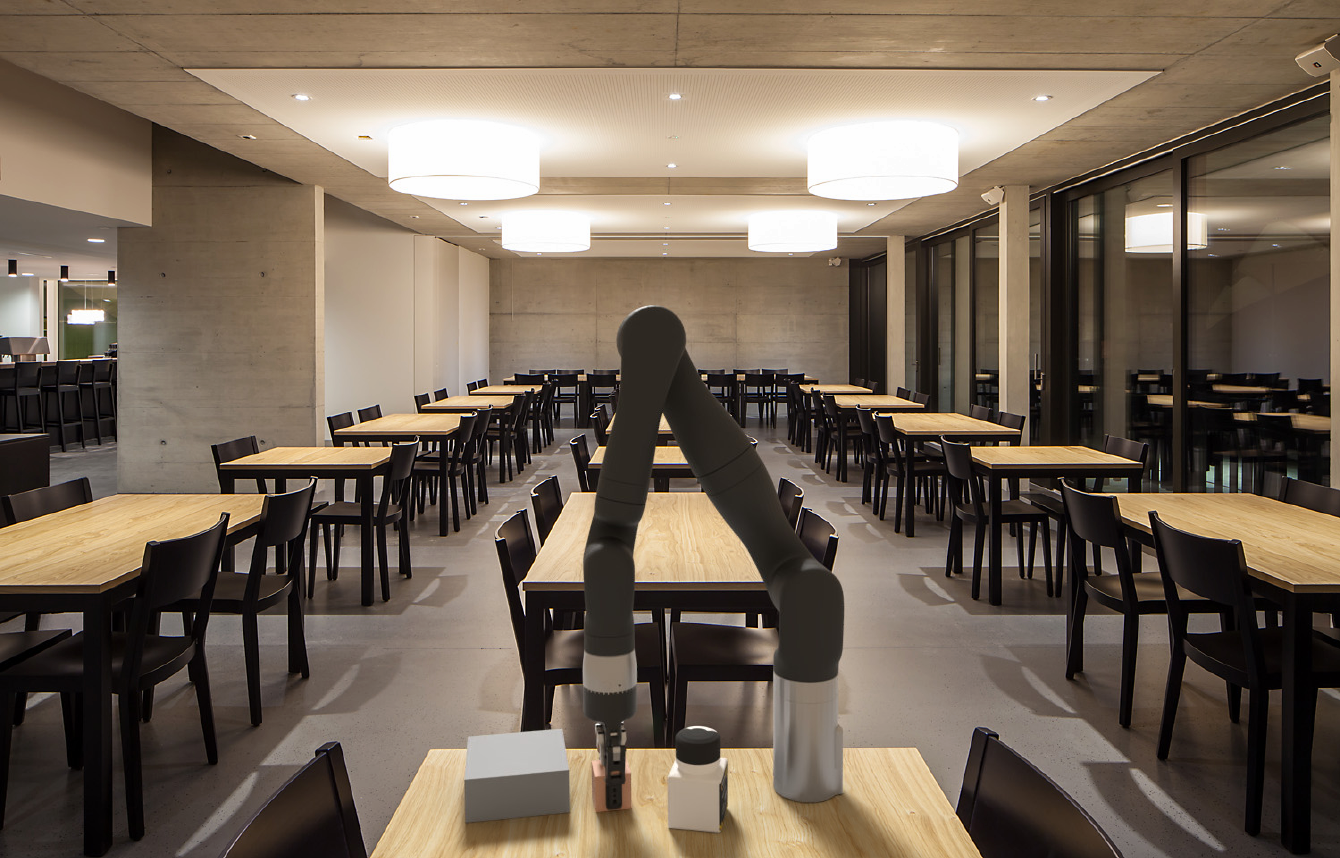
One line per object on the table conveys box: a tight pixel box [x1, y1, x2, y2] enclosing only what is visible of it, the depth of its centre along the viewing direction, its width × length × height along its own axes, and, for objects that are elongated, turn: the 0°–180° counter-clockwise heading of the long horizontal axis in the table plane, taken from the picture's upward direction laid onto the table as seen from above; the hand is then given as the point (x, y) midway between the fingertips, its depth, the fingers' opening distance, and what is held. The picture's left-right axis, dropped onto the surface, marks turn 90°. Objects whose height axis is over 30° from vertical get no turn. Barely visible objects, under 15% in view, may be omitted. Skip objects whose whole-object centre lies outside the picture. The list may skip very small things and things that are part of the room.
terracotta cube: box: [591, 757, 633, 813], centre depth 123 cm, size 5×5×5 cm
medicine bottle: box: [667, 725, 729, 834], centre depth 118 cm, size 7×7×12 cm
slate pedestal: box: [463, 728, 571, 824], centre depth 125 cm, size 14×14×6 cm
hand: (611, 797), depth 123 cm, fingers closed on terracotta cube, 5 cm apart
